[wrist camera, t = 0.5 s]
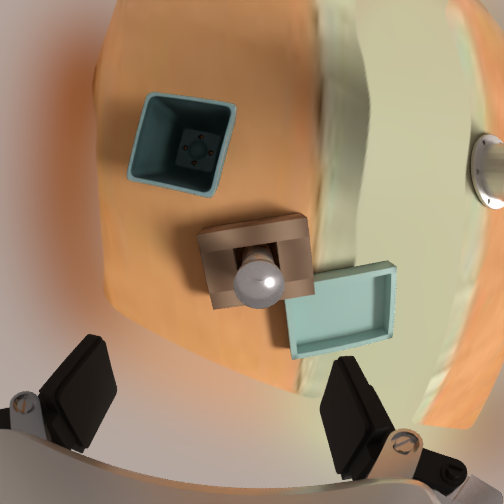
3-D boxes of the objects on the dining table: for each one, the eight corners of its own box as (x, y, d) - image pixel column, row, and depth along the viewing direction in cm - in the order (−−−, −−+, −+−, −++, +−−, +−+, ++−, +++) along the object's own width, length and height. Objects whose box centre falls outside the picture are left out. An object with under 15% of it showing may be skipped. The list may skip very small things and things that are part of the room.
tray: (387, 260, 34) (396, 266, 32) (385, 328, 37) (392, 337, 34) (281, 279, 35) (283, 287, 32) (289, 348, 38) (292, 359, 35)
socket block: (300, 212, 33) (307, 217, 29) (308, 281, 35) (315, 294, 31) (203, 228, 33) (196, 235, 29) (217, 295, 36) (213, 309, 32)
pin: (273, 235, 33) (281, 257, 24) (278, 270, 35) (287, 304, 25) (235, 241, 34) (229, 265, 24) (242, 275, 35) (238, 311, 25)
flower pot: (155, 178, 32) (124, 180, 23) (173, 111, 29) (147, 90, 21) (223, 193, 32) (213, 199, 23) (242, 123, 30) (238, 104, 21)
